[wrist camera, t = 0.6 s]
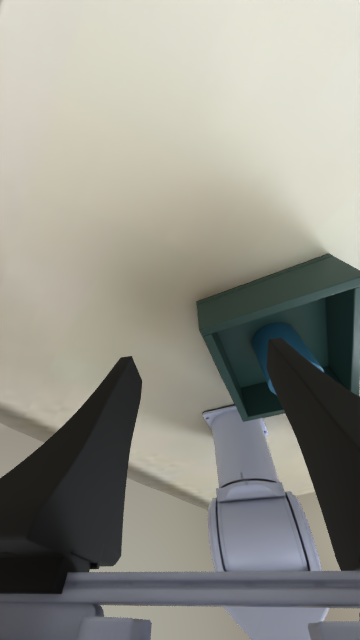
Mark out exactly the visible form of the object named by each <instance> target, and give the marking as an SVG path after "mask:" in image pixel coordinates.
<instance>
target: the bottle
mask: <svg viewBox="0 0 360 640" xmlns="http://www.w3.org/2000/svg"><path fill="white" fill-rule="evenodd" d="M275 338H282V339H283V340H285V341H286V342H287V343H288V344H289V345H290V346H292V347H293V348H294V349H295V350H296V351H297V352H299V353H300V354H301V355H302V356H303V357H305V358H306V359H307V360H308V361H310V362H311V363H312V364H313V365H315V366H316V367H317V368H318V369H320V370H321V371H322V372H324V370H323V368H322V367H321V366H320V364H319V363H318V361H317V360H316V359H315V357H314V356H313V355H312V353H311V352H310V350H309V349H308V348H307V346H306V345H305V343H304V342H303V341H302V339H301V338H300V336H299V335H298V334H297V332H296V331H295V329H294V328H293V327H292V326H290V325H288V324H285V323H272V324H269V325H266V326H264V327H263V328H261V329H260V330H259V331H257V333H256V334H255V335H254V337H253V339H252V347H253V349H254V352H255V354H256V357H257V359H258V362H259V364H260V367H261V369H262V372H263V374H264V377H265V379H266V382H267V384H268V387H269V389H270V391H271V392H272V393H274V394H276V392H275V390H274V388H273V386H272V383H271V380H270V377H269V374H268V371H267V368H266V367H267V353H268V339H275ZM276 395H277V394H276Z"/></svg>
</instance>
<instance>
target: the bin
mask: <svg viewBox="0 0 360 640" xmlns="http://www.w3.org/2000/svg"><path fill="white" fill-rule="evenodd" d="M196 303H197V312H198V321H199V330H200V332H201V335H202V336H203V339H204V341H205V343H206V345H207V347H208V349H209V351H210V354H211V356H212V358H213V360H214V362H215V364H216V366H217V368H218V370H219V372H220V375H221V377H222V379H223V381H224V383H225V385H226V387H227V389H228V391H229V393H230V396H231V398H232V400H233V402H234V404H235V406H236V408H237V410H238V412H239V414H240V417H241V419H242V421H243V422H246V421H250V420H255V419H260V418H265V417H269V416H274V415H279V414H284V413H285V411H284V409H283V407H282V405H281V403H280V401H279V399H278V397H277V395H276V394H274V393H272V392H271V391H270V389H269V387H268V384H267V382H266V379H265V377H264V374H263V372H262V369H261V367H260V364H259V362H258V359H257V357H256V354H255V352H254V349H253V347H252V339H253V337H254V335H255V334H256V333H257V331H259V330H260V329H261V328H263V327H264V326H266V325H269V324H272V323H285V324H288V325H290V326H292V327H293V328H294V329H295V331H296V332H297V334H298V335H299V336H300V338H301V339H302V341H303V342H304V343H305V345H306V346H307V348H308V349H309V350H310V352H311V353H312V355H313V356H314V357H315V359H316V360H317V361H318V363H319V364H320V366H321V367H322V368H323V370H324V373H325V374H326V375H328V376H329V377H330V378H332V379H333V380H335V381H336V382H337V383H339V384H340V385H342V386H343V387H345V388H346V389H348V390H349V391H351V392H353V393H354V394H356V395H357V396H359V388H360V270H358V269H356V268H354V267H352V266H351V265H349V264H347V263H345V262H343V261H341V260H340V259H338V258H336V257H334V256H333V255H331V254H327V255H324V256H321V257H318V258H316V259H313V260H310V261H307V262H305V263H302V264H299V265H296V266H294V267H291V268H288V269H285V270H283V271H280V272H277V273H274V274H272V275H269V276H266V277H263V278H261V279H258V280H255V281H252V282H250V283H247V284H244V285H241V286H239V287H236V288H233V289H230V290H228V291H225V292H222V293H219V294H217V295H214V296H211V297H208V298H206V299H203V300H200V301H197V302H196Z"/></svg>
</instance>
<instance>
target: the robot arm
mask: <svg viewBox="0 0 360 640" xmlns="http://www.w3.org/2000/svg"><path fill="white" fill-rule="evenodd" d="M266 368H267V371H268V374H269V377H270V380H271V383H272V386H273V388H274V390H275V392H276V394H277V397H278V399H279V401H280V403H281V405H282V407H283V409H284V411H285V413H286V416H287V418H288V420H289V422H290V424H291V426H292V428H293V431H294V433H295V435H296V438H297V440H298V443H299V446H300V449H301V451H302V454H303V457H304V460H305V463H306V465H307V468H308V471H309V474H310V477H311V480H312V483H313V486H314V489H315V492H316V495H317V498H318V501H319V504H320V507H321V510H322V513H323V516H324V520H325V523H326V526H327V530H328V533H329V536H330V539H331V543H332V546H333V549H334V553H335V557H336V559H337V562H338V564H339V567H340V569H341V571H322V570H321V563H320V559H319V555H318V552H317V548H316V545H315V542H314V539H313V536H312V533H311V530H310V527H309V524H308V521H307V519H306V516H305V513H304V511H303V508H302V506H301V504H300V502H299V500H298V498H297V497H296V496H295V495H293V494H292V492H290V491H286V492H284V489H283V485H282V483H281V482H279V479H278V476H277V473H276V469H275V466H274V463H273V460H272V457H271V453H270V450H269V447H268V444H267V441H266V437H265V436H268V431H267V429H266V426H265V423H264V421H263V418H260V419H255V420H250V421H246V422H243V421H242V419H241V417H240V414H239V412H238V410H237V408H236V406H230V407H226V408H222V409H217V410H213V411H209V412H204V413H203V418H204V419H205V421H206V422H207V424H208V425H209V427H210V428H211V430H212V431H213V439H214V447H215V456H216V465H217V474H218V483H219V488H217V489H216V493H217V498H213V499H212V501H211V503H210V505H209V508H208V533H209V543H210V550H211V556H212V560H213V565H214V568H215V572H89V570H90V569H99V566H113V565H115V564H116V562H117V561H118V560H119V558H120V557H121V545H122V527H123V512H124V500H125V487H126V479H127V469H128V461H129V453H130V446H131V441H132V436H133V432H134V427H135V422H136V418H137V413H138V409H139V404H140V399H141V389H142V380H141V377H140V375H139V372H138V370H137V368H136V365H135V363H134V361H133V358H132V356H129V357H121V358H120V359H119V361H118V362H117V363H116V365H115V366H114V367H113V369H112V370H111V371H110V372H109V374H108V375H107V376H106V378H105V379H104V380H103V382H102V383H101V384H100V385H99V387H98V388H97V389H96V390H95V392H94V393H93V394H92V395H91V396H90V397H89V399H88V400H87V401H86V402H85V403H84V404H83V406H82V407H81V408H80V409H79V410H78V411H77V412H76V413H75V414H74V415H73V416H72V417H71V418H70V419H69V420H68V421H67V422H66V423H65V424H64V425H63V426H62V427H61V428H60V429H59V430H58V431H57V432H56V433H55V434H54V435H53V436H52V437H50V438H49V439H48V440H47V441H46V442H45V443H44V444H43V445H42V446H41V447H39V448H38V449H37V450H36V451H35V452H33V453H32V454H31V455H30V456H29V457H27V458H26V459H25V460H24V461H22V462H21V463H20V464H19V465H17V466H16V467H15V468H14V469H12V470H11V471H10V472H9V473H7V474H6V475H4V476H3V477H2V478H0V640H150V636H151V624H152V623H151V621H150V620H143V619H132V618H116V617H104V614H103V609H102V607H101V606H100V605H135V606H139V605H140V606H214V607H224V608H225V610H226V611H227V613H228V614H229V615H230V616H231V617H232V618H233V619H234V620H235V622H236V623H237V624H238V625H239V626H240V627H241V628H242V629H243V631H244V632H245V633H246V634H247V635H248V636H249V638H250V639H251V640H360V620H359V622H326V621H324V619H325V617H326V615H327V613H328V610H329V608H360V397H359V396H357V395H356V394H354V393H353V392H351V391H349V390H348V389H346V388H345V387H343V386H342V385H340V384H339V383H337V382H336V381H335V380H333V379H332V378H330V377H329V376H328V375H326V374H325V373H324V372H322V371H321V370H320V369H318V368H317V367H316V366H315V365H313V364H312V363H311V362H310V361H308V360H307V359H306V358H305V357H303V356H302V355H301V354H300V353H299V352H297V351H296V350H295V349H294V348H293V347H292V346H290V345H289V344H288V343H287V342H286V341H285V340H283V339H282V338H275V339H268V353H267V367H266ZM359 617H360V614H359Z"/></svg>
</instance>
